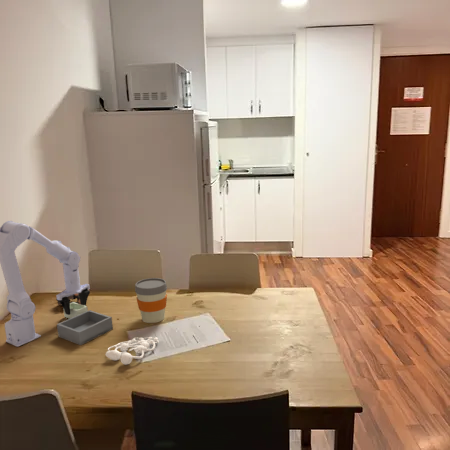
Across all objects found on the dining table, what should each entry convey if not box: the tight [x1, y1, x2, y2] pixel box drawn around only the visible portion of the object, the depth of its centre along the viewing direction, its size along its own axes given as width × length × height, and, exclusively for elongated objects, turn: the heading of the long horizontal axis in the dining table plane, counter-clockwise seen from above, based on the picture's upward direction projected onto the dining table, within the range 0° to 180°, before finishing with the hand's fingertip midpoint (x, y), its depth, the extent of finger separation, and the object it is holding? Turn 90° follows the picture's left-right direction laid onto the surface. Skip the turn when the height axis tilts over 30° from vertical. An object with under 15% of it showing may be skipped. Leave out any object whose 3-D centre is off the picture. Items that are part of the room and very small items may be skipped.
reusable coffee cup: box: [134, 277, 168, 324], centre depth 178 cm, size 13×13×15 cm
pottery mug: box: [55, 288, 81, 306], centre depth 197 cm, size 12×10×8 cm
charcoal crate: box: [56, 309, 114, 346], centre depth 168 cm, size 15×13×5 cm
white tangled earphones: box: [105, 336, 160, 366], centre depth 154 cm, size 19×14×4 cm
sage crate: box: [62, 301, 89, 320], centre depth 182 cm, size 5×9×5 cm, turn 55°
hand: (75, 310), depth 182 cm, fingers open, 7 cm apart
